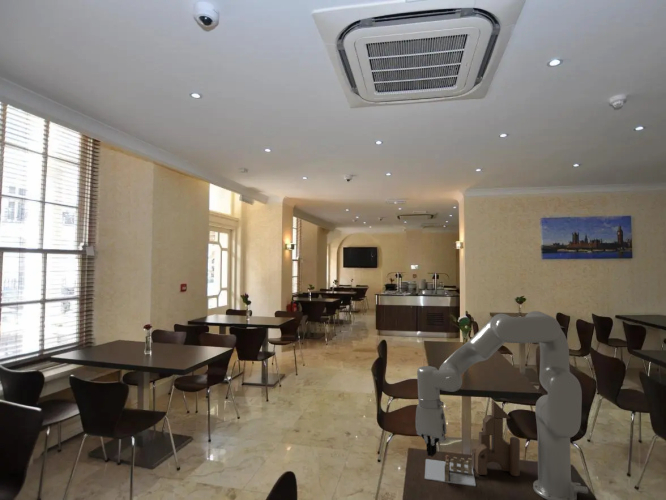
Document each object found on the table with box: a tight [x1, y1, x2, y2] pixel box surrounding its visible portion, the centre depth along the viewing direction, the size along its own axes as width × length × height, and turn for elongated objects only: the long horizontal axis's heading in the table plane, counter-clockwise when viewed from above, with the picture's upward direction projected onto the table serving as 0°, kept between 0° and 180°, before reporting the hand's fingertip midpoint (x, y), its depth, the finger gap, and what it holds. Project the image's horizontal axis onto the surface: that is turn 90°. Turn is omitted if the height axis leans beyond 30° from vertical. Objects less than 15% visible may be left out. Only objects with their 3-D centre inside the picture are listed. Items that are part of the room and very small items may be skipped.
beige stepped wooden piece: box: [445, 454, 451, 483], centre depth 138 cm, size 9×1×5 cm, turn 161°
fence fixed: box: [450, 456, 472, 475], centre depth 140 cm, size 7×1×6 cm, turn 75°
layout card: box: [424, 458, 477, 487], centre depth 141 cm, size 17×14×1 cm
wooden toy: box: [471, 399, 521, 477], centre depth 142 cm, size 15×7×25 cm, turn 88°
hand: (431, 454), depth 137 cm, fingers closed
